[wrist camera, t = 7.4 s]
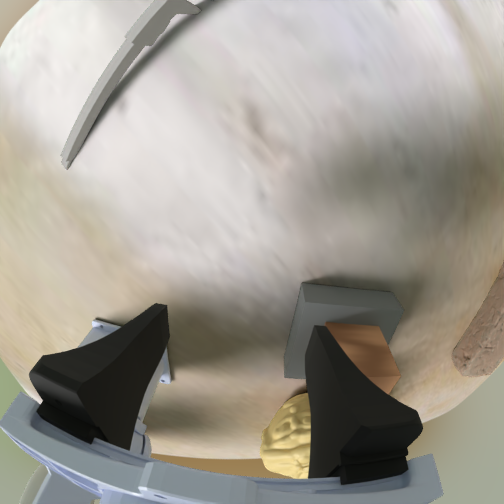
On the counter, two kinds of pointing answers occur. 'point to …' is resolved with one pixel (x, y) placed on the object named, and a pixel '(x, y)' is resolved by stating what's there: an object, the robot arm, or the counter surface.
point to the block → (367, 352)
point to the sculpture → (289, 439)
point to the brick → (483, 336)
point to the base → (336, 317)
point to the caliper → (123, 66)
